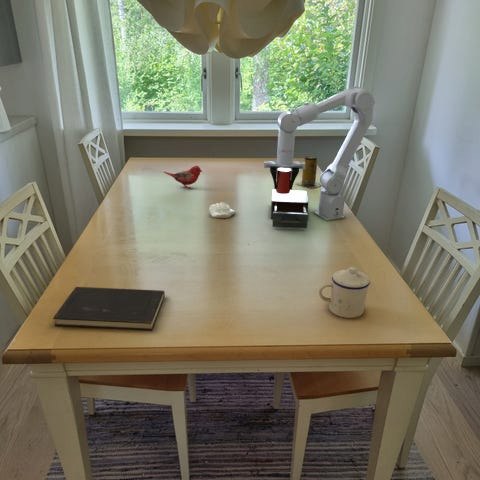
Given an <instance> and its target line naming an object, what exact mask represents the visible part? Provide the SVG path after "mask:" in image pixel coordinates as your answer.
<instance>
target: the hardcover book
mask: <svg viewBox="0 0 480 480" xmlns="http://www.w3.org/2000/svg"><path fill="white" fill-rule="evenodd" d="M165 297H166V293H165V290H162V289H161V290H157V289H156V290H155V289H137V288H136V289H135V288H114V287H94V286H93V287H91V286H75V287H74V288H73V290H72V291H71V293H70V294H69V295H68V296H67V298H66V299H65V301H64V302H63V304H62V305H61V307H60V308H59V309H58V311H57V312H56V313H55V315H54V316H53V317H52V320H54V321H55V324H54V327H67V328H71V327H72V328H87V329H107V330H109V329H111V330H129V331H130V330H131V331H147V332H148V331H151V332H152V331H153V330H154V327H155V324H156V322H157V320H158V317H159V314H160V311H161V309H162V306H163V303H164V301H165Z"/></svg>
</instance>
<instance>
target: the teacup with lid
mask: <svg viewBox="0 0 480 480" xmlns="http://www.w3.org/2000/svg"><path fill="white" fill-rule="evenodd" d="M331 280H332V282H325V283H323V284H321V285H320V286H319V288H318V295H319V297H320V299H321V300H322V301H323V302H326V303H329V305H328V308H329V311H330V312H331V313H332V314H334V315H335V316H338V317H341V318H344V319H353V318H354V319H355V318H358V317H360V316H362V315H363V314H364V311H365V306H366V301H367V295H368V290H369V286H370V285H371V281H370V278H369V276H368V275H367V274H365V272H362V271H359V270H358V269H357V268H356V267H355V266H350V267H348V269H340V270H337V271H336V272H334V274H332V277H331ZM326 288H331V291H330V297H325V296H324V295H323V290H324V289H326Z"/></svg>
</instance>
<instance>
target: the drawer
mask: <svg viewBox="0 0 480 480" xmlns="http://www.w3.org/2000/svg"><path fill="white" fill-rule="evenodd" d="M308 222H309V213H306V207H305V204H292V203H275V205H274V212H273V219H272V228H287V229H308Z"/></svg>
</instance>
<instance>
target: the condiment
mask: <svg viewBox="0 0 480 480" xmlns="http://www.w3.org/2000/svg"><path fill="white" fill-rule="evenodd" d="M317 160H318V157H317V156H315V155H306V156H305V157H304V162H303V163H305V164H306V165H305V170H304V169H302V172H301V173H302V174H301V182H298V183H297V185H299V186H302V187H306V188H309V189H315V188H318V187H319V188H320V187H322V185H321V184H318V183H316V178H317V171H318V170H317V169H318V164H317V163H318V161H317Z"/></svg>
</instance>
